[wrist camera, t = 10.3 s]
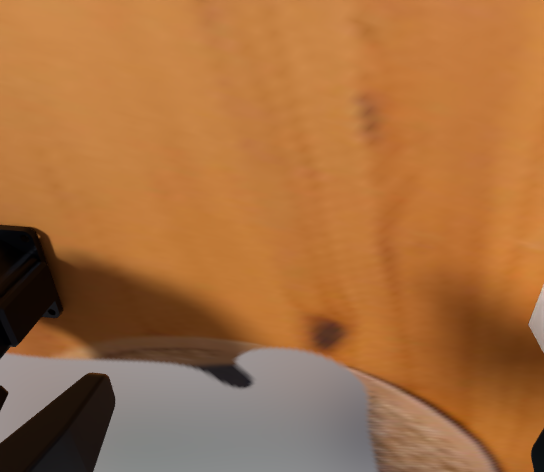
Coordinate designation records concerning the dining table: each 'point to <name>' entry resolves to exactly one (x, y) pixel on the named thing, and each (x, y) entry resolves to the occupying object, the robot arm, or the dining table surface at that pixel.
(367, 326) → the dining table surface
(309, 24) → the dining table surface
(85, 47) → the dining table surface
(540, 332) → the white notched pillar
